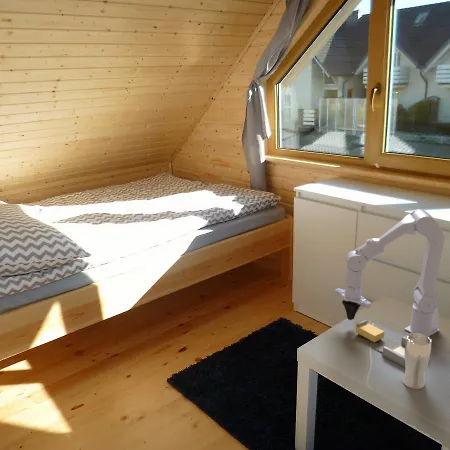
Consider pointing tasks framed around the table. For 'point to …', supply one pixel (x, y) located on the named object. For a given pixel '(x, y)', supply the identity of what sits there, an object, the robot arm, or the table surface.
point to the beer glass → (416, 359)
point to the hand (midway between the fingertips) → (350, 318)
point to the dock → (393, 350)
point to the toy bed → (369, 331)
